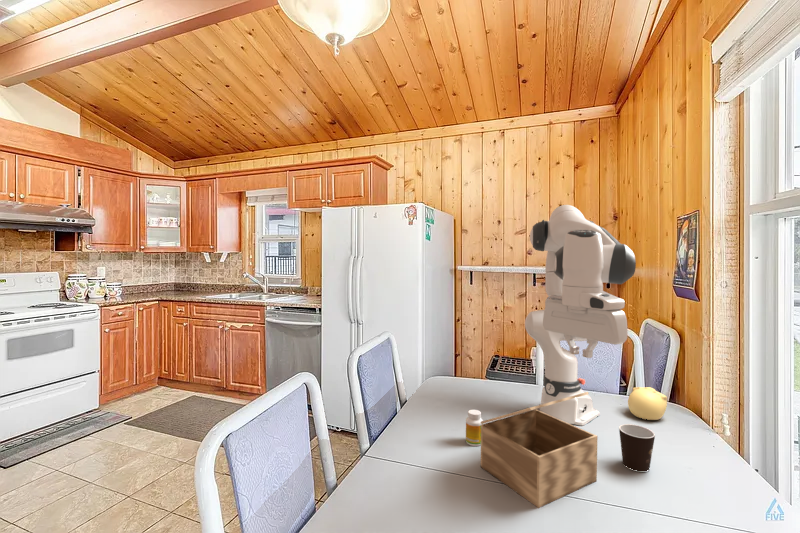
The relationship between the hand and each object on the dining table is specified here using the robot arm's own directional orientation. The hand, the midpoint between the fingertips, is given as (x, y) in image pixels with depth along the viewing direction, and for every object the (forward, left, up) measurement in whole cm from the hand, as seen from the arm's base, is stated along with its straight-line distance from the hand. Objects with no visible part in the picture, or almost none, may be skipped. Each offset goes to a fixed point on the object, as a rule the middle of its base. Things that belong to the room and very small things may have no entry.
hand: (580, 355), depth 93 cm
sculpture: (-65, -18, -35) cm, 76 cm away
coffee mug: (-29, -1, -35) cm, 46 cm away
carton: (0, -12, -35) cm, 37 cm away
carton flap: (0, -14, -18) cm, 23 cm away
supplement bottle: (+3, -34, -35) cm, 49 cm away
